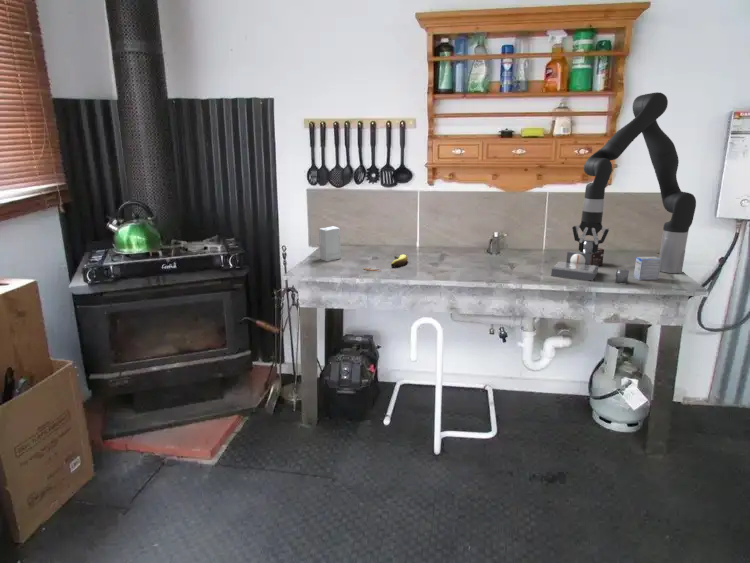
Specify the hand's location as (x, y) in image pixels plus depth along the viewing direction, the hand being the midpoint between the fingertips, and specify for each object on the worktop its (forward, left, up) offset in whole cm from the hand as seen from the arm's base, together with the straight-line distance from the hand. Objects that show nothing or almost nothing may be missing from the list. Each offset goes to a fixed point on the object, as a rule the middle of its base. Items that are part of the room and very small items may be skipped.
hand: (587, 252), depth 211 cm
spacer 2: (-14, 0, -10) cm, 17 cm away
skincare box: (+108, +24, -11) cm, 112 cm away
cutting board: (+77, +15, -11) cm, 80 cm away
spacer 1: (0, 0, 0) cm, 0 cm away
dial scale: (+4, -3, -10) cm, 12 cm away
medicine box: (-22, -10, -11) cm, 26 cm away
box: (0, -24, -11) cm, 26 cm away
